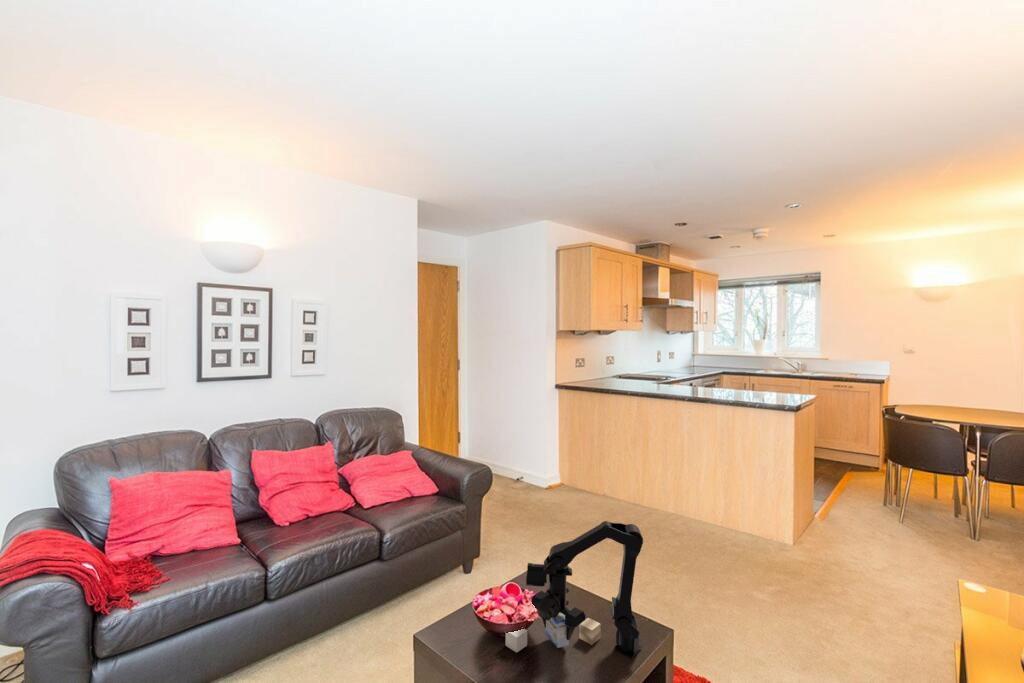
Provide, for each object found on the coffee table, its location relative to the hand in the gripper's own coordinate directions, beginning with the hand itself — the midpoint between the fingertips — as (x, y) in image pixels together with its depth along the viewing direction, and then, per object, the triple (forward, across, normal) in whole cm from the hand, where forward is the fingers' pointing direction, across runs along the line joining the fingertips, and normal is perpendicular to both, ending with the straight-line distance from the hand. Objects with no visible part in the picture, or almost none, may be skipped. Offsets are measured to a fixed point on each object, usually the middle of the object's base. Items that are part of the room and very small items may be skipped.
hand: (557, 633), depth 156 cm
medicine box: (+2, 0, 0) cm, 2 cm away
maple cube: (+4, +6, +10) cm, 12 cm away
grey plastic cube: (+3, -9, -10) cm, 14 cm away
